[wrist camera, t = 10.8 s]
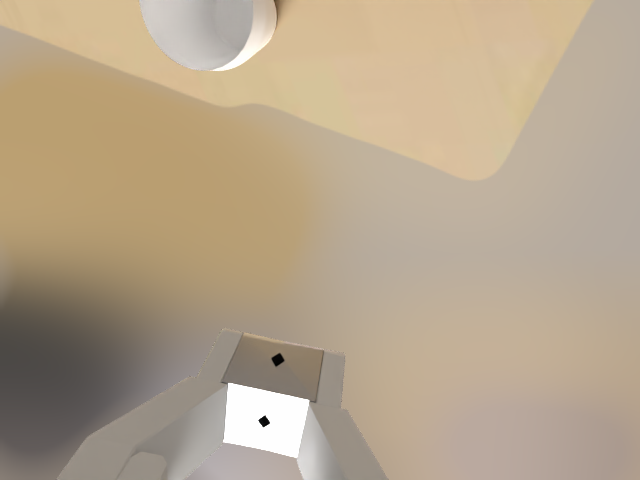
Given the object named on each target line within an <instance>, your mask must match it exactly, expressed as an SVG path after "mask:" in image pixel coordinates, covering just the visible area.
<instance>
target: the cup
mask: <svg viewBox="0 0 640 480" xmlns="http://www.w3.org/2000/svg"><path fill="white" fill-rule="evenodd" d="M139 2H140V8H141V13H142V17H143V20H144V23H145V25H146V27H147V30H148V32H149V34H150V35H151V37H152V39H153V40H154V42H155V43H156V44H157V46H158V47H159V48H160V49H161V50H162V51H163V52H164V53H165V54H166V55H167V56H168V57H169V58H171V59H172V60H173V61H175V62H176V63H178V64H180V65H182V66H184V67H187V68H190V69H194V70H201V71H208V70H212V71H223V70H228V69H231V68H234V67H237V66H239V65H241V64H242V63H244V62H245V61H246V60H248V59H249V58H250V57H252V56H253V55H254V54H255V53H257V52H258V51H259V50H260V49H262V48H263V47H264V46H265V45H266V44H267V43H268V42H269V41H270V39H271V38H272V36H273V34H274V31H275V28H276V22H277V13H276V7H275V3H274V1H273V0H139Z"/></svg>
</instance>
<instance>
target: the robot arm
mask: <svg viewBox="0 0 640 480" xmlns="http://www.w3.org/2000/svg"><path fill="white" fill-rule="evenodd" d="M344 366H345V354H344V353H343V352H337V351H332V350H327V349H324V350H323V349H320V348H315V347H311V346H305V345H301V344H296V343H291V342H285V341H280V340H276V339H272V338H268V337H263V336H259V335H254V334H251V333H246V332H245V333H244V332H240V331H236V330H232V329H227V328H224V329H223V330H222V331H221V332H220V333H219V335H218V337H217V339H216V341H215V343H214V345H213V347H212V349H211V351H210V353H209V354H208V356H207V358H206V360H205V362H204V364H203V366H202V368H201V370H200V371H199V373H198V375H197V377H191V376H190V377H188V378H186V379H185V380H183V381H181V382H180V383H178V384H176V385H174V386H173V387H171V388H169V389H168V390H166V391H164V392H162V393H161V394H159V395H157V396H156V397H154V398H152V399H151V400H149V401H147V402H146V403H144V404H142V405H140V406H139V407H137V408H136V409H134V410H132V411H130V412H128V413H127V414H125V415H124V416H122V417H120V418H118V419H117V420H115V421H113V422H112V423H110V424H108V425H106V426H105V427H103V428H101V429H100V430H98V431H96V432H94V433H93V434H91V435H89V436H88V437H87V438H86V439H85V441H84V442H83V443H82V445H81V446H80V447H79V449H78V450H77V451H76V453H75V454H74V456H73V457H72V458H71V460H70V461H69V462H68V464H67V465H66V467H65V468H64V469H63V471H62V472H61V473H60V475H59V476H58V478H57V479H56V480H185V479H186V478H187V477H188V476H189V475H190V474H191V473H192V472H193V471H194V470H195V469H196V468H197V467H199V466H200V465H201V464H202V463H203V462H204V461H205V460H206V459H207V458H208V457H209V456H211V454H213V453H214V452H215V451H216V450H217V449H218V448H219V447H220V446H221V445H222V444H223V441H225V442H230V443H235V444H240V445H245V446H251V447H256V448H261V449H265V450H269V451H273V452H277V453H281V454H285V455H289V456H294V457H297V458H296V460H297V463H298V466H299V469H300V472H301V475H302V477H303V480H388V478H387V476H386V475H385V473H384V471H383V470H382V468H381V466H380V464H379V463H378V461H377V459H376V458H375V456H374V455H373V453H372V451H371V449H370V447H369V446H368V444H367V442H366V441H365V439H364V437H363V436H362V434H361V432H360V431H359V429H358V427H357V425H356V424H355V422H354V420H353V419H352V417H351V415H350V414H349V412H348V410H345V409H341V402H342V390H343V377H344Z"/></svg>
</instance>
